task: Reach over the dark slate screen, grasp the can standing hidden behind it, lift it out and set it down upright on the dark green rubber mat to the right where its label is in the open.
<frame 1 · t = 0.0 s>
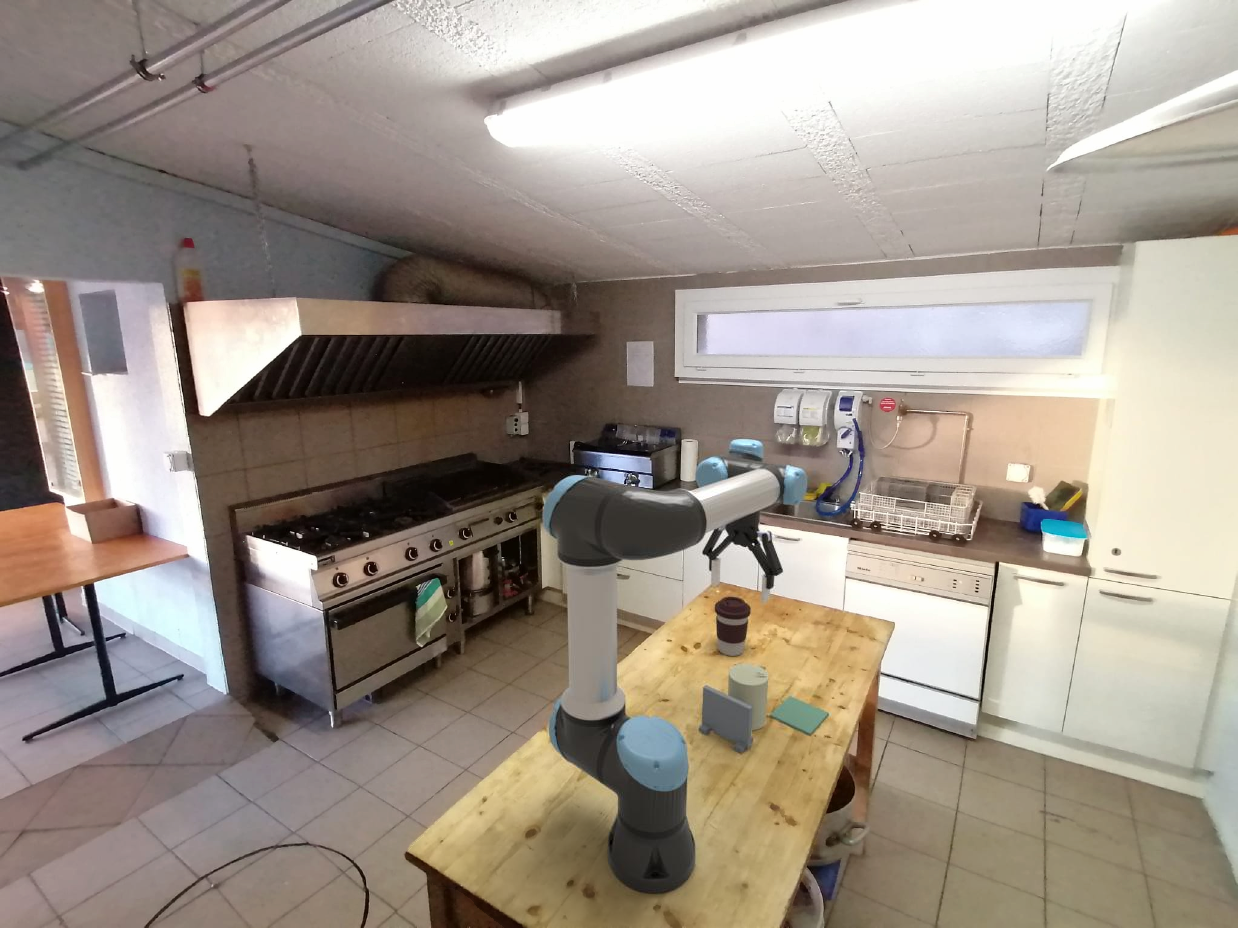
hand: (739, 592, 141), 28 cm above the table, fingers open, 13 cm apart
mat: (799, 715, 139), on the table
letter cube: (753, 687, 151), on the table
screen: (725, 736, 132), on the table
can: (746, 718, 139), on the table
coffee cup: (730, 650, 169), on the table
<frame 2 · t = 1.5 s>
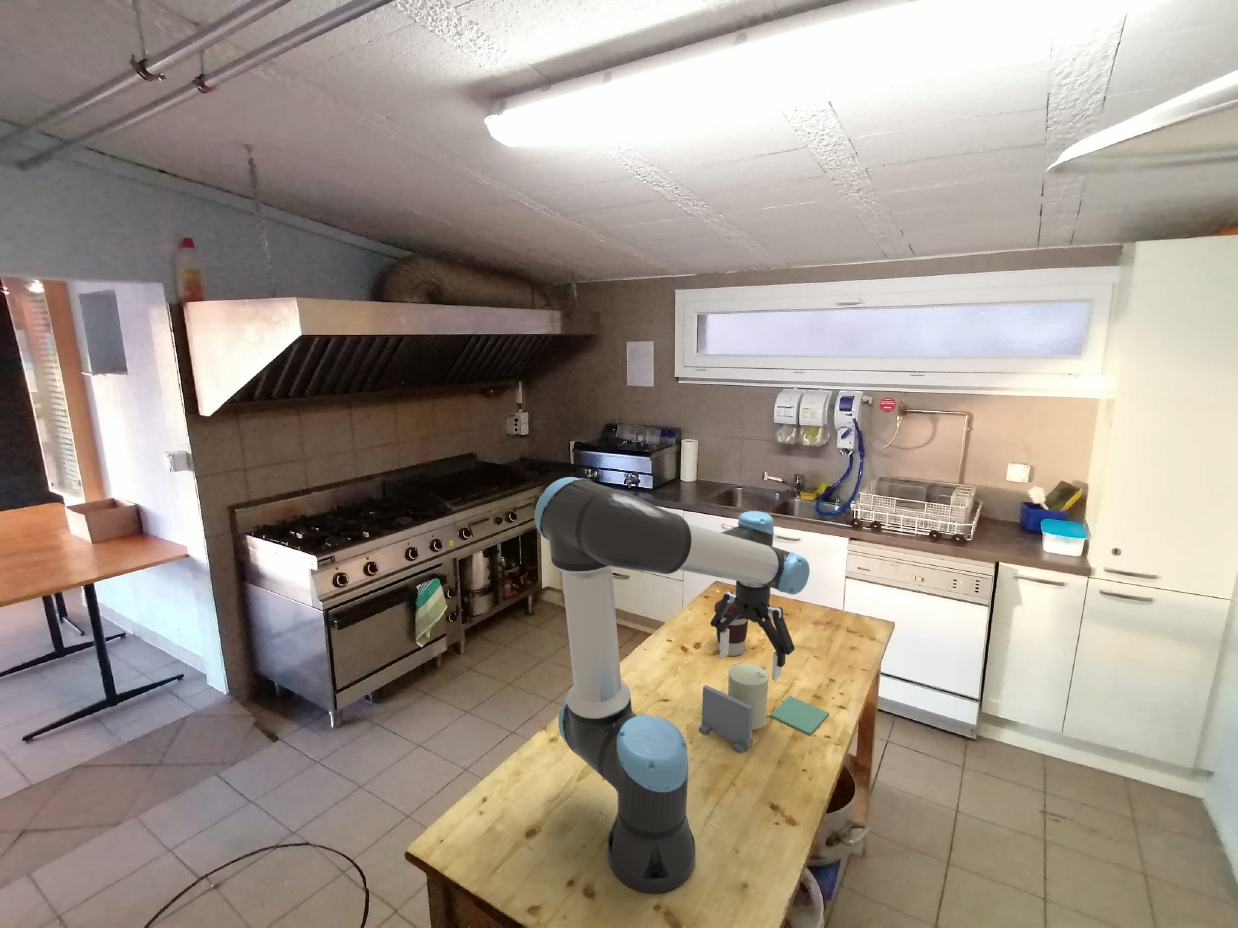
hand: (749, 666, 136), 13 cm above the table, fingers open, 13 cm apart
nothing on the table moved.
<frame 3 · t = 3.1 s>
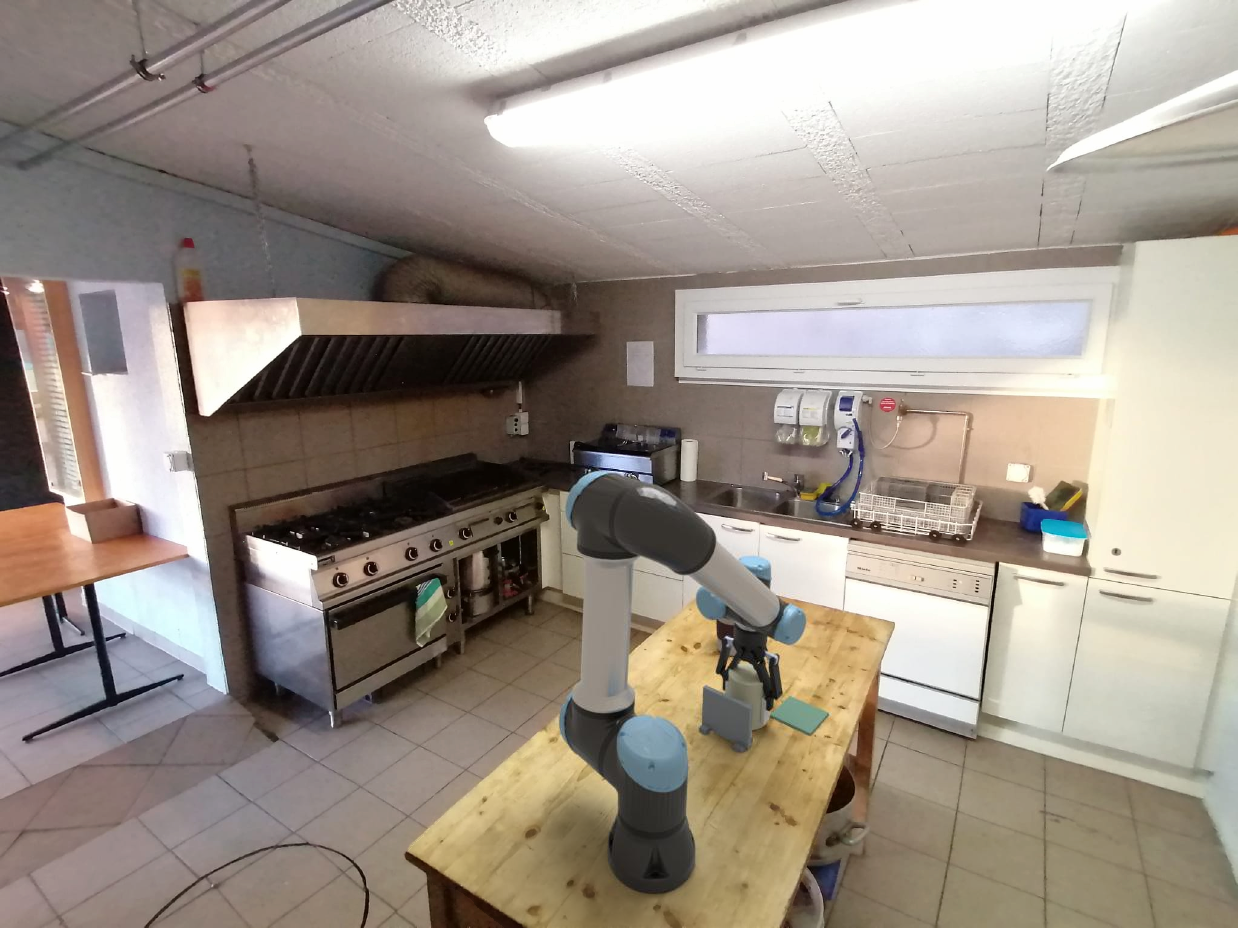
hand: (746, 711, 139), 1 cm above the table, fingers closed on can, 9 cm apart
can: (746, 718, 139), on the table, touching gripper
everything else where it was.
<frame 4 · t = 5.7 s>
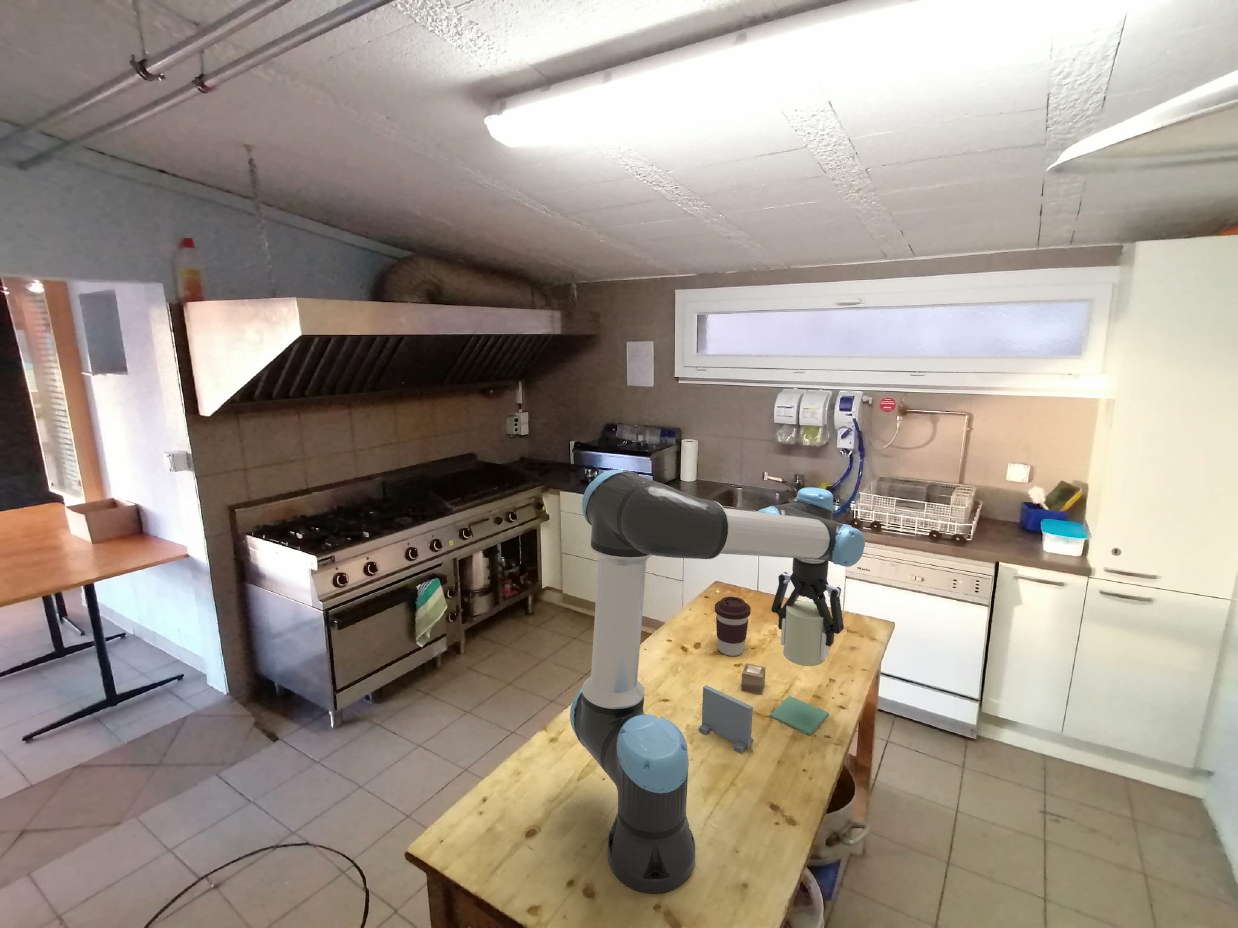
hand: (804, 649, 136), 17 cm above the table, fingers closed on can, 9 cm apart
can: (803, 656, 136), point 15 cm above the table, touching gripper
everything else where it was.
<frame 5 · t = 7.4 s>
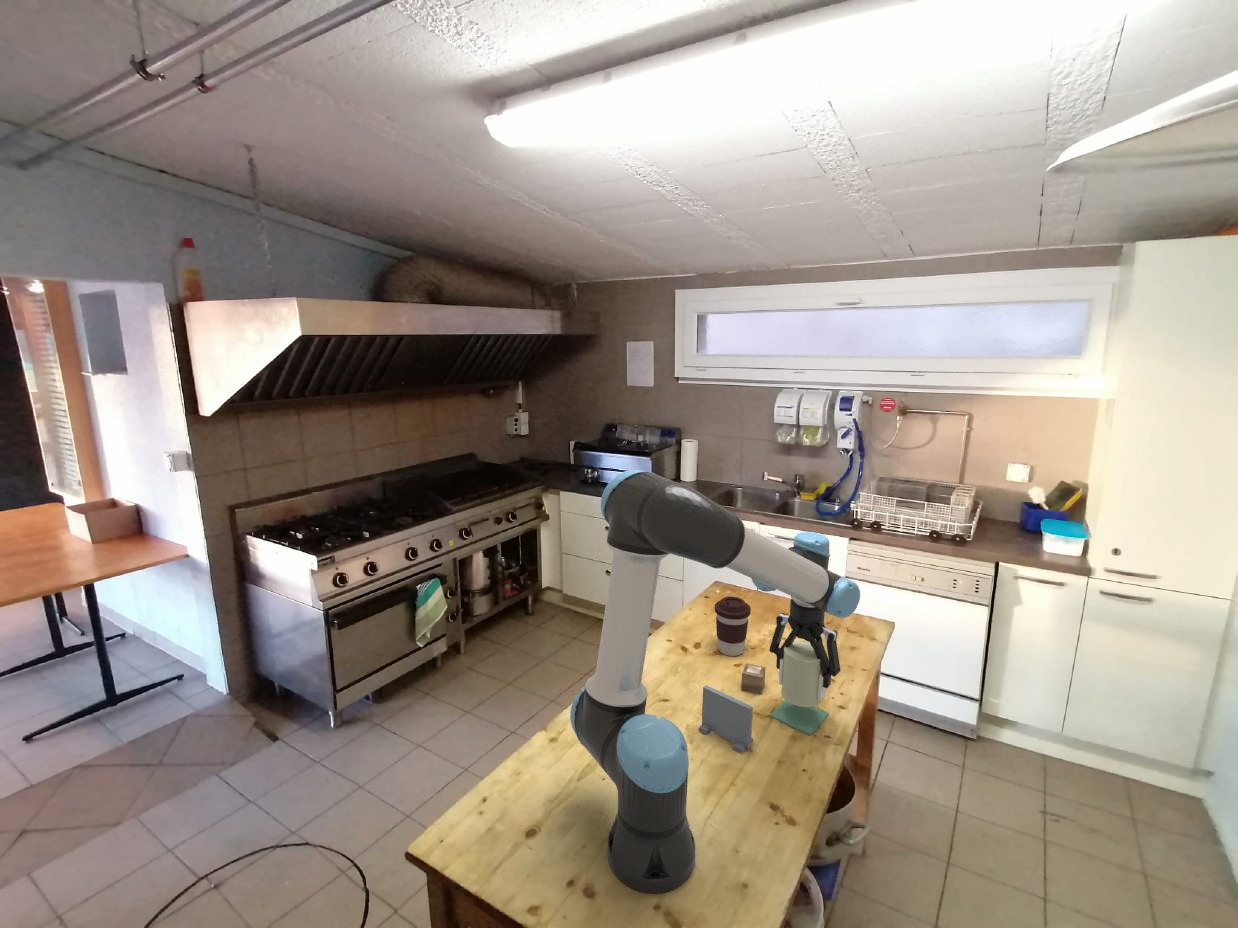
hand: (801, 689, 138), 7 cm above the table, fingers closed on can, 9 cm apart
can: (801, 695, 138), point 5 cm above the table, touching gripper
everything else where it was.
when the fingers open (3 cm above the table, at t = 8.6 s): can drops 1 cm, resting on mat.
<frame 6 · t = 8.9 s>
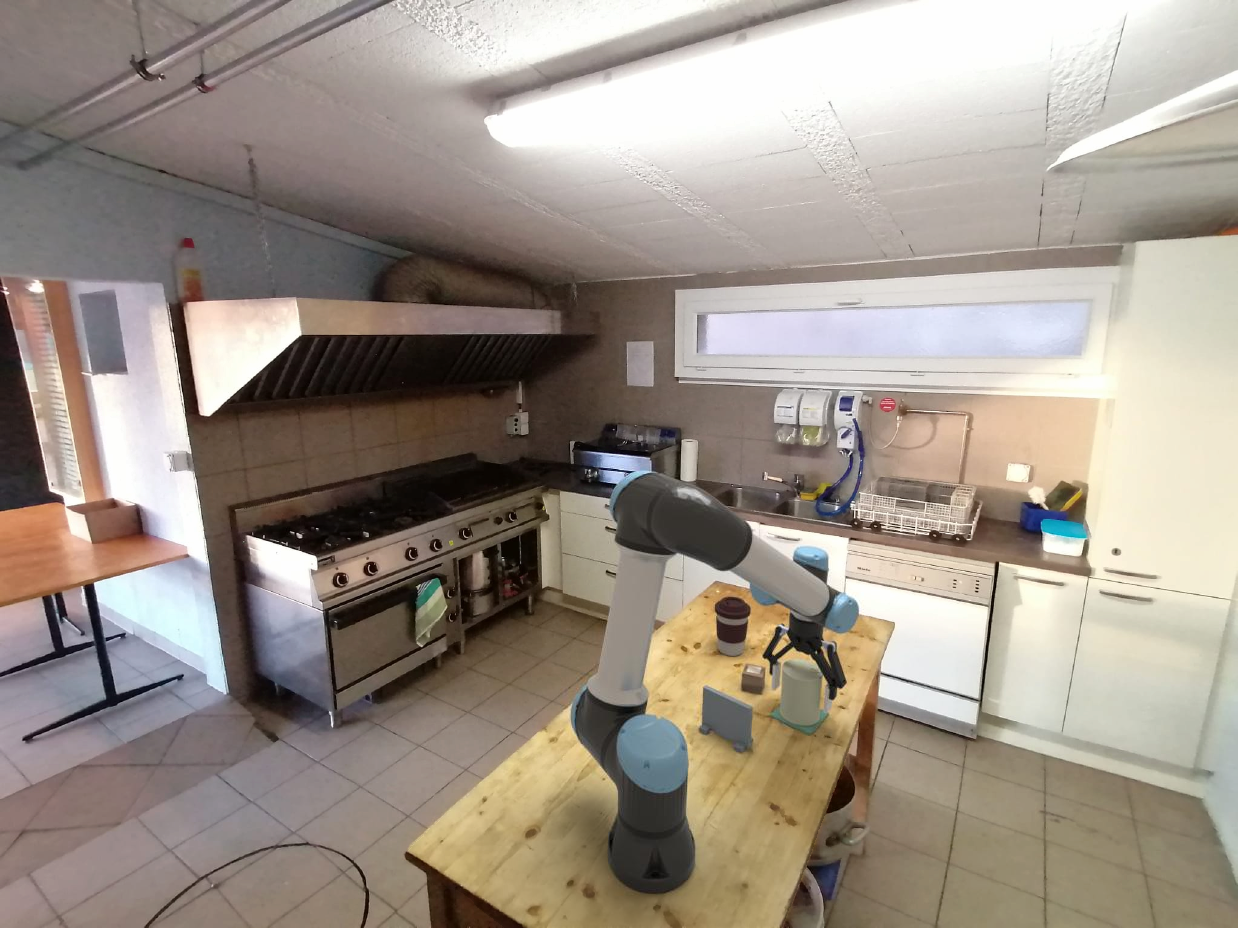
hand: (800, 698, 138), 5 cm above the table, fingers open, 12 cm apart
can: (799, 714, 139), resting on mat
everything else where it was.
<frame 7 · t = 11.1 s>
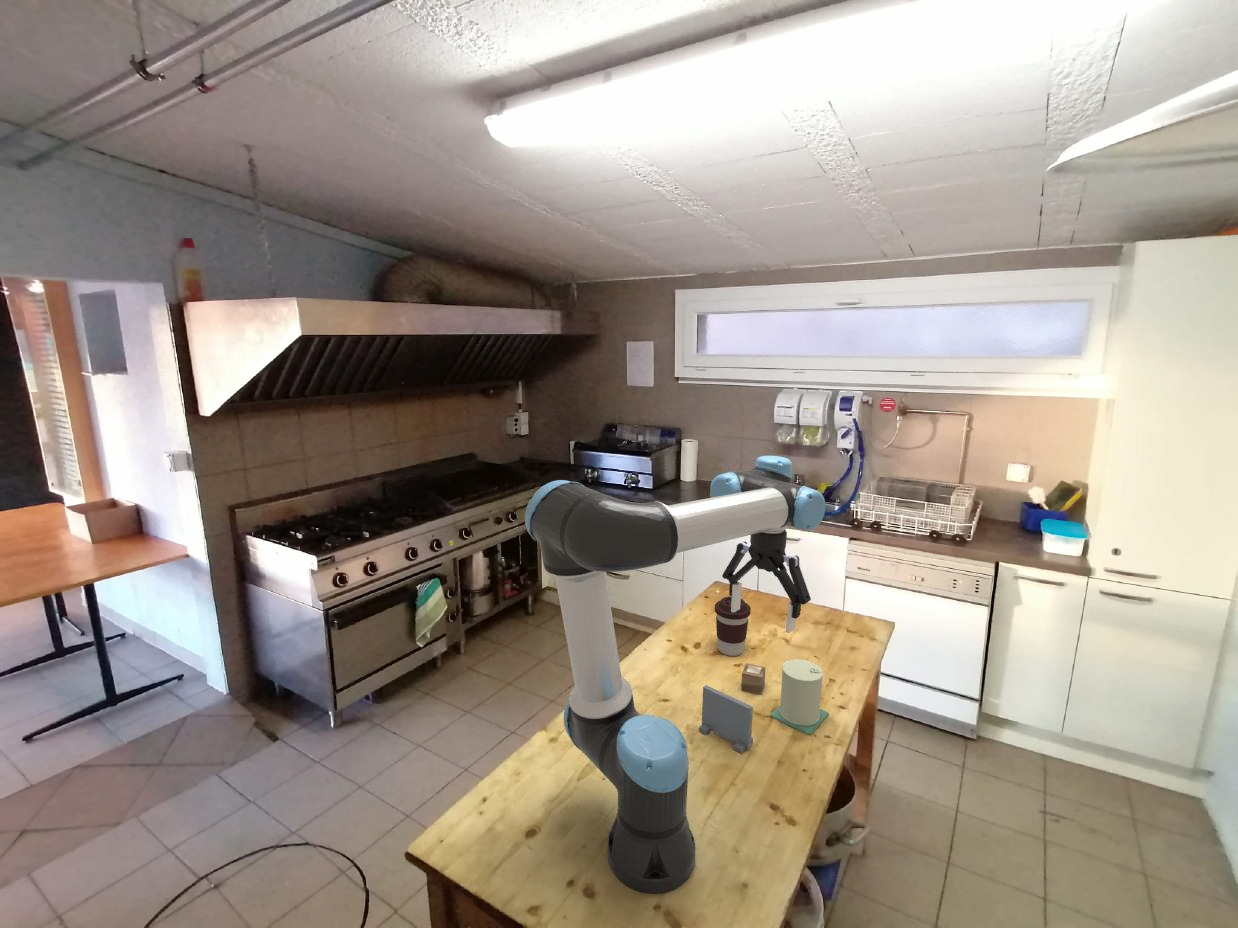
hand: (761, 620, 131), 26 cm above the table, fingers open, 13 cm apart
nothing on the table moved.
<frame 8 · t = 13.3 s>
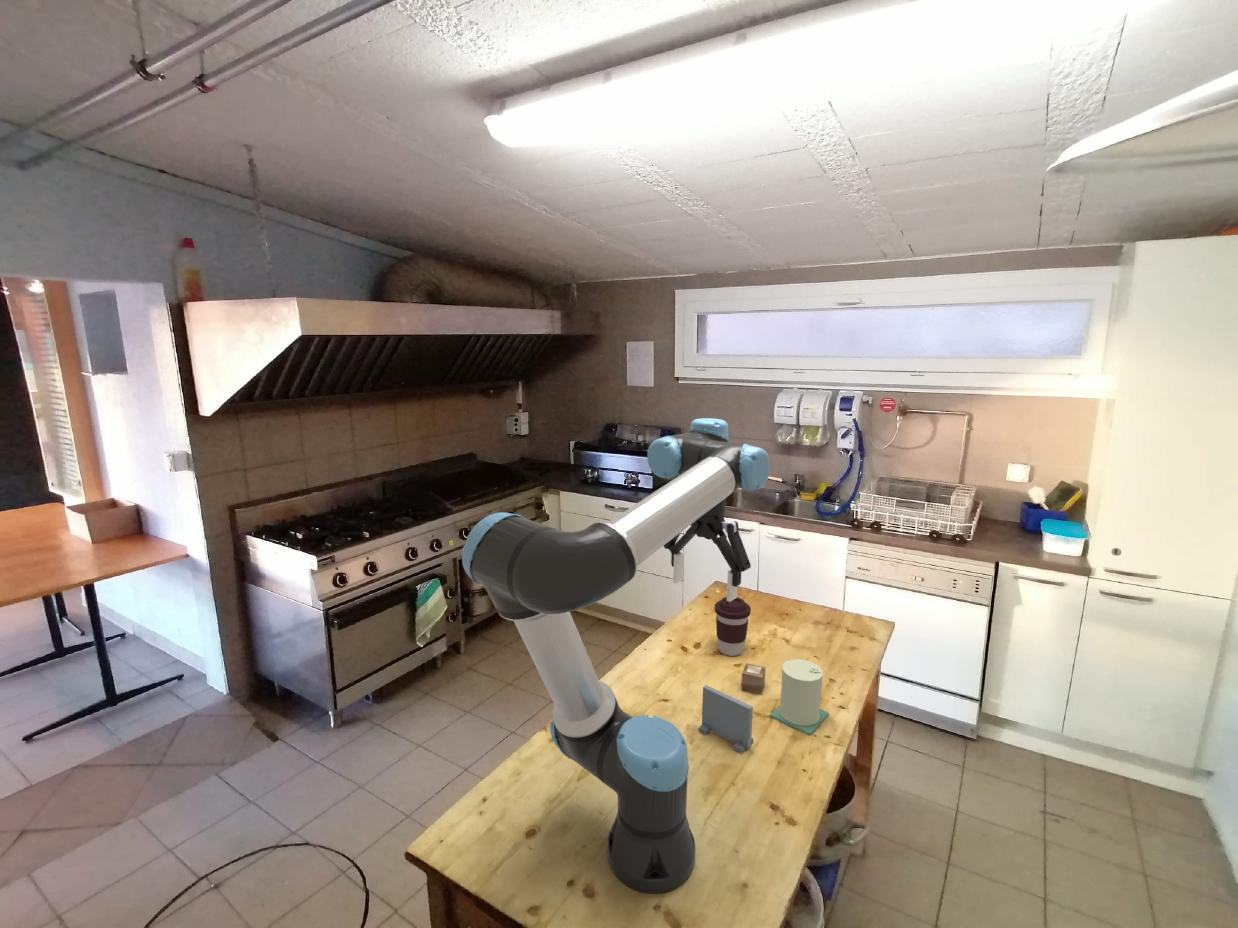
hand: (704, 590, 126), 35 cm above the table, fingers open, 13 cm apart
nothing on the table moved.
at the end: can 0.1 cm from the mat (horizontally); can tilted 0°; the gripper is holding nothing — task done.
